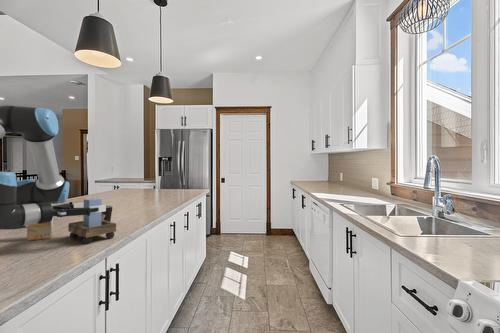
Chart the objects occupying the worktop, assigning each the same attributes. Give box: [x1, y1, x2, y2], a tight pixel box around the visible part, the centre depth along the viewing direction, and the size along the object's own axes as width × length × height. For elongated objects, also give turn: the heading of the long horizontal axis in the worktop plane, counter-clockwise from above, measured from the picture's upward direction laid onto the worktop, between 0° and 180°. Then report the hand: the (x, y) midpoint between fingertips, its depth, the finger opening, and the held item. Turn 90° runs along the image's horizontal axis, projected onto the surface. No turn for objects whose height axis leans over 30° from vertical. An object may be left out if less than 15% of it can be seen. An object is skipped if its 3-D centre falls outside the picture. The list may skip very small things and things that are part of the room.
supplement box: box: [26, 217, 54, 241], centre depth 109 cm, size 8×5×13 cm, turn 117°
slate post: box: [82, 197, 103, 228], centre depth 110 cm, size 5×5×12 cm
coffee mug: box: [101, 204, 113, 222], centre depth 132 cm, size 12×9×10 cm
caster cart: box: [67, 220, 117, 245], centre depth 110 cm, size 16×12×6 cm
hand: (97, 206), depth 112 cm, fingers open, 13 cm apart
